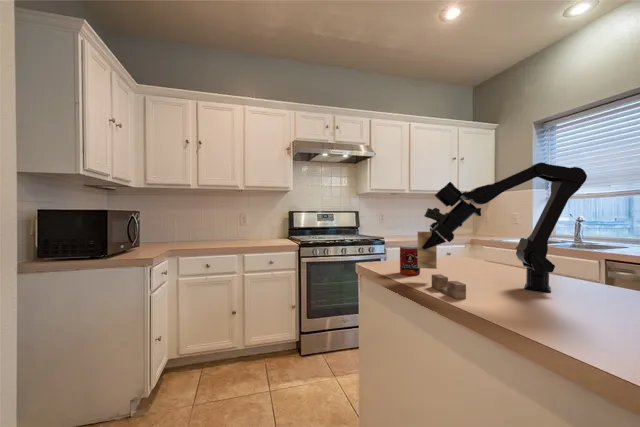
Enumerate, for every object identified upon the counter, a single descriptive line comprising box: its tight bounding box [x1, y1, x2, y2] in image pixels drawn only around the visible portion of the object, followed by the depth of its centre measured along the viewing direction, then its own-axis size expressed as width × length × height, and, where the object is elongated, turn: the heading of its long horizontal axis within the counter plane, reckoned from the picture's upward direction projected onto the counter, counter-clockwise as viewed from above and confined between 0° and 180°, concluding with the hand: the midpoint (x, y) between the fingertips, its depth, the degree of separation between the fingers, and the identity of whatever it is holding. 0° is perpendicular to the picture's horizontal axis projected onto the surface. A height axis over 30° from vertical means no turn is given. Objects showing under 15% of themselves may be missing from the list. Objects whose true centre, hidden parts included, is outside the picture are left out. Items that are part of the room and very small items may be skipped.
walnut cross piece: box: [431, 273, 467, 300], centre depth 86 cm, size 13×3×4 cm, turn 7°
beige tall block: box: [417, 230, 438, 270], centre depth 99 cm, size 6×3×12 cm, turn 74°
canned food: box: [399, 244, 421, 277], centre depth 112 cm, size 8×8×11 cm
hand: (422, 247), depth 100 cm, fingers closed on beige tall block, 3 cm apart
